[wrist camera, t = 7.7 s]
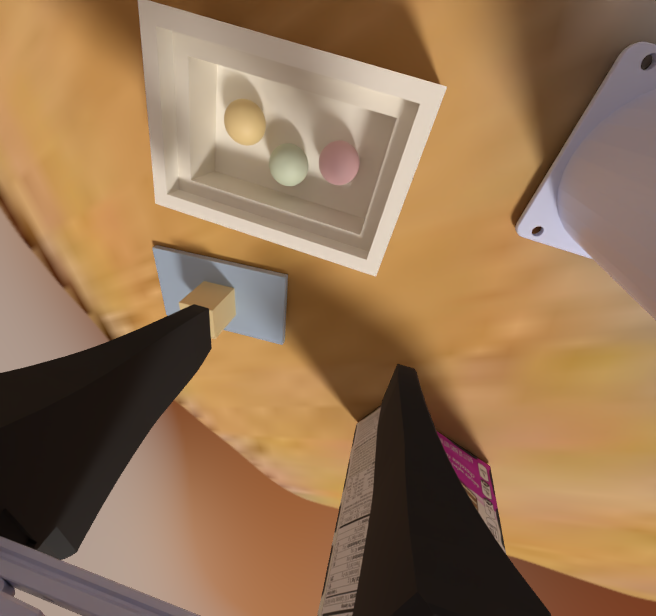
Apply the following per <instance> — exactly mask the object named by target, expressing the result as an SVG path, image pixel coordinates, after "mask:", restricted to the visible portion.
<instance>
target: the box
mask: <svg viewBox="0 0 656 616" xmlns="http://www.w3.org/2000/svg"><path fill="white" fill-rule="evenodd" d="M138 9H139V20H140V32H141V43H142V55H143V66H144V78H145V89H146V101H147V112H148V124H149V135H150V147H151V158H152V170H153V181H154V192H155V204H158V205H161V206H164V207H167V208H171V209H174V210H177V211H180V212H183V213H186V214H189V215H192V216H195V217H198V218H201V219H204V220H207V221H210V222H213V223H216V224H219V225H222V226H225V227H228V228H231V229H234V230H237V231H240V232H243V233H246V234H249V235H252V236H255V237H258V238H261V239H264V240H267V241H270V242H273V243H276V244H279V245H282V246H285V247H288V248H291V249H294V250H297V251H300V252H303V253H306V254H309V255H313V256H316V257H319V258H322V259H325V260H328V261H331V262H334V263H337V264H340V265H343V266H346V267H349V268H352V269H355V270H358V271H361V272H364V273H367V274H370V275H373V276H376V275H377V272H378V270H379V267H380V264H381V262H382V259H383V256H384V254H385V251H386V248H387V246H388V243H389V240H390V238H391V235H392V232H393V230H394V227H395V224H396V222H397V219H398V216H399V214H400V211H401V208H402V206H403V203H404V200H405V198H406V195H407V192H408V190H409V187H410V184H411V182H412V179H413V176H414V174H415V171H416V168H417V166H418V163H419V160H420V158H421V155H422V152H423V150H424V147H425V144H426V142H427V139H428V136H429V134H430V131H431V128H432V126H433V123H434V120H435V118H436V115H437V112H438V110H439V107H440V104H441V102H442V99H443V96H444V94H445V91H446V88H447V87H446V86H443V85H440V84H436V83H433V82H429V81H426V80H422V79H419V78H415V77H412V76H408V75H405V74H401V73H398V72H395V71H391V70H388V69H384V68H381V67H377V66H374V65H370V64H367V63H363V62H360V61H357V60H353V59H350V58H346V57H343V56H339V55H336V54H332V53H329V52H325V51H322V50H319V49H315V48H312V47H308V46H305V45H301V44H298V43H294V42H291V41H287V40H284V39H281V38H277V37H274V36H270V35H267V34H263V33H260V32H256V31H253V30H249V29H246V28H242V27H239V26H236V25H232V24H229V23H225V22H222V21H218V20H215V19H211V18H208V17H204V16H201V15H198V14H194V13H191V12H187V11H184V10H180V9H177V8H173V7H170V6H166V5H163V4H160V3H156V2H153V1H149V0H138Z"/></svg>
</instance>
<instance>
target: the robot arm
mask: <svg viewBox="0 0 656 616" xmlns="http://www.w3.org/2000/svg"><path fill="white" fill-rule="evenodd" d="M649 54H650V55H651V56H652V59H653V61H652V63H651V65H650V66H649V67H648V68H647V69H645V70H643V69H641V62H642V60H643V59H644V58H645V57H646V56H647V55H649ZM537 226H541V230H540V231H539V232H538V233H536V234H533V233H532V230H533V229H534V228H535V227H537ZM515 230H516V232H517V233H518V235H519V236H521V237H524V238H527V239H530V240H533V241H537V242H540V243H543V244H546V245H549V246H552V247H556V248H559V249H562V250H565V251H568V252H572V253H575V254H578V255H581V256H584V257H587V258H591V259H594V260H595V261H596V262H597V263H598V264H599V265H600V266H601V267H602V268H603V269H604V270H605V271H606V272H607V273H608V274H609V275H610V276H611V277H612V278H613V279H614V280H615V281H616V282H617V283H618V284H619V285H620V286H621V287H622V288H623V289H624V290H625V291H626V292H627V293H628V294H629V295H630V296H631V297H632V298H633V299H635V300H636V301H637V302H638V303H639V304H640V305H641V306H642V307H643V308H644V309H645V310H646V311H647V312H648V313H649V314H650V315H651V316H652V317H653V318H654V319H655V320H656V44H652V43H649V42H637V43H634V44H631V45H629V46H628V47H626V48H625V49H624V50H623V51H622V52H621V53H620V55H619V56H618V57H617V59H616V61H615V62H614V64H613V66H612V67H611V69H610V71H609V72H608V74H607V76H606V77H605V79H604V80H603V82H602V84H601V85H600V87H599V89H598V90H597V92H596V94H595V95H594V97H593V99H592V100H591V102H590V103H589V105H588V107H587V108H586V110H585V112H584V113H583V115H582V117H581V118H580V120H579V122H578V123H577V125H576V126H575V128H574V130H573V131H572V133H571V135H570V136H569V138H568V140H567V141H566V143H565V144H564V146H563V148H562V149H561V151H560V153H559V154H558V156H557V158H556V159H555V161H554V163H553V164H552V166H551V167H550V169H549V171H548V172H547V174H546V176H545V177H544V179H543V181H542V182H541V184H540V186H539V187H538V189H537V190H536V192H535V194H534V195H533V197H532V199H531V200H530V202H529V204H528V205H527V207H526V209H525V210H524V212H523V213H522V215H521V217H520V218H519V220H518V222H517V223H516V226H515ZM210 350H211V332H210V315H209V308H206V307H203V306H199V305H196V304H193V305H191V306H188V307H186V308H184V309H182V310H179V311H177V312H175V313H173V314H171V315H169V316H167V317H164V318H162V319H160V320H158V321H156V322H153V323H151V324H149V325H147V326H145V327H142V328H140V329H138V330H136V331H133V332H131V333H128V334H126V335H123V336H121V337H118V338H116V339H114V340H111V341H109V342H106V343H104V344H101V345H98V346H96V347H93V348H90V349H87V350H84V351H81V352H78V353H75V354H71V355H68V356H65V357H61V358H58V359H54V360H51V361H47V362H43V363H40V364H36V365H33V366H29V367H25V368H21V369H16V370H12V371H8V372H3V373H0V616H45V615H44V614H43V613H42V612H41V611H40V610H39V609H37V608H35V607H33V606H31V605H29V604H27V603H25V602H23V601H21V600H19V599H17V598H15V597H14V595H15V590H14V588H17V589H19V590H22V591H24V592H26V593H29V594H32V595H34V596H36V597H39V598H41V599H43V600H46V601H48V602H51V603H53V604H56V605H58V606H60V607H63V608H65V609H68V610H70V611H72V612H75V613H77V614H80V615H82V616H200V615H198V614H195V613H192V612H190V611H188V610H185V609H183V608H180V607H177V606H175V605H172V604H170V603H167V602H165V601H162V600H160V599H157V598H155V597H152V596H150V595H147V594H145V593H142V592H140V591H137V590H135V589H132V588H130V587H127V586H125V585H122V584H119V583H117V582H115V581H112V580H109V579H107V578H104V577H102V576H99V575H97V574H94V573H92V572H89V571H87V570H84V569H82V568H79V567H77V566H74V565H71V564H69V563H67V562H64V561H62V559H65V558H67V557H69V556H71V555H73V554H75V553H76V552H77V551H78V548H79V547H80V545H81V543H82V541H83V539H84V538H85V536H86V534H87V532H88V530H89V529H90V527H91V525H92V523H93V521H94V520H95V518H96V516H97V514H98V512H99V511H100V509H101V507H102V505H103V504H104V502H105V500H106V499H107V497H108V495H109V494H110V492H111V490H112V489H113V487H114V485H115V484H116V482H117V480H118V478H119V477H120V475H121V474H122V472H123V471H124V469H125V467H126V466H127V464H128V462H129V461H130V459H131V458H132V456H133V455H134V453H135V452H136V450H137V448H138V447H139V446H140V444H141V443H142V441H143V440H144V438H145V437H146V435H147V434H148V432H149V431H150V429H151V428H152V426H153V425H154V424H155V423H156V421H157V420H158V419H159V417H160V416H161V415H162V414H163V412H164V411H165V410H166V409H167V407H168V406H169V405H170V404H171V403H172V402H173V400H174V399H175V398H176V397H177V396H178V394H179V393H180V392H181V391H182V389H183V388H184V387H185V386H186V385H187V383H188V382H189V381H190V380H191V378H192V377H193V376H194V375H195V373H196V372H197V371H198V369H199V368H200V366H201V365H202V363H203V362H204V360H205V358H206V357H207V355H208V353H209V352H210ZM26 546H27V547H26ZM31 548H32V549H31ZM36 550H37V551H36ZM41 552H42V553H41ZM352 616H551V614H550V612H549V611H548V610H547V608H546V607H545V606H544V604H543V603H542V602H541V601H540V599H539V598H538V596H537V595H536V594H535V593H534V591H533V590H532V589H531V587H530V586H529V585H528V584H527V582H526V581H525V579H524V578H523V577H522V575H521V574H520V573H519V572H518V570H517V569H516V568H515V566H514V565H513V563H512V562H511V561H510V559H509V558H508V556H507V555H506V553H505V552H504V551H503V549H502V548H501V546H500V545H499V543H498V542H497V541H496V539H495V537H494V536H493V534H492V533H491V531H490V530H489V528H488V526H487V525H486V523H485V522H484V520H483V519H482V517H481V515H480V514H479V512H478V511H477V509H476V507H475V506H474V504H473V503H472V501H471V499H470V497H469V496H468V494H467V492H466V490H465V489H464V487H463V485H462V483H461V481H460V480H459V478H458V476H457V474H456V472H455V470H454V468H453V466H452V464H451V462H450V460H449V458H448V456H447V454H446V452H445V450H444V447H443V445H442V443H441V441H440V438H439V436H438V434H437V431H436V429H435V426H434V424H433V421H432V418H431V416H430V413H429V411H428V408H427V405H426V402H425V399H424V396H423V393H422V390H421V386H420V383H419V380H418V376H417V372H416V370H415V369H413V368H410V367H407V366H403V365H400V364H397V366H396V369H395V371H394V374H393V376H392V378H391V381H390V383H389V386H388V388H387V390H386V393H385V395H384V398H383V400H382V404H381V410H380V415H379V421H378V426H377V439H376V454H375V469H374V484H373V495H372V504H371V510H370V517H369V523H368V529H367V535H366V541H365V547H364V553H363V559H362V565H361V570H360V576H359V582H358V587H357V593H356V598H355V604H354V609H353V614H352Z"/></svg>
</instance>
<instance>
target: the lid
mask: <svg viewBox="0 0 656 616" xmlns="http://www.w3.org/2000/svg"><path fill="white" fill-rule="evenodd" d="M152 248H153V253H154V258H155V262H156V267H157V272H158V277H159V281H160V286H161V291H162V295H163V300H164V305H165V310H166V314H167V315H168V316H169V315H171V314H173V313H175V312H177V311H179V310H182V309H184V308H186V307H188V306H191V305H193V304H196V305H199V306H203V307H206V308H209V315H210V332H211V338H213V339H216V338H217V337H218V336H219V334H220V333H221V332H222V331H223V330H227V331H231V332H234V333H238V334H242V335H246V336H250V337H254V338H258V339H262V340H265V341H269V342H273V343H277V344H281V345H283V343H284V341H285V325H286V305H287V285H288V275H287V274H283V273H278V272H274V271H270V270H265V269H261V268H256V267H252V266H247V265H243V264H238V263H234V262H230V261H225V260H221V259H216V258H212V257H207V256H203V255H199V254H194V253H190V252H185V251H181V250H176V249H172V248H168V247H163V246H159V245H156V246H154V247H152Z"/></svg>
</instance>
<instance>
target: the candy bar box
mask: <svg viewBox="0 0 656 616" xmlns="http://www.w3.org/2000/svg"><path fill="white" fill-rule="evenodd" d="M380 410H381V406H379V407H378V408H377V409H376V410H375V411H374V412H372V413H371V414H369V415H368V416H366V417H365V418H363V419H362V420H361V421H359V422H358V423H357V425H356V429H355V433H354V439H353V444H352V449H351V454H350V459H349V464H348V469H347V474H346V479H345V484H344V489H343V494H342V499H341V504H340V507H339V514H338V519H337V523H336V528H335V533H334V538H333V543H332V548H331V553H330V558H329V563H328V567H327V572H326V578H325V582H324V588H323V592H322V597H321V602H320V606H319V611H318V616H352V614H353V609H354V604H355V598H356V593H357V587H358V582H359V576H360V570H361V565H362V559H363V553H364V547H365V541H366V535H367V529H368V523H369V517H370V510H371V504H372V495H373V484H374V469H375V454H376V439H377V426H378V421H379V415H380ZM437 434H438V436H439V438H440V441H441V443H442V445H443V447H444V450H445V452H446V454H447V456H448V458H449V460H450V462H451V464H452V466H453V468H454V470H455V472H456V474H457V476H458V478H459V480H460V481H461V483H462V485H463V487H464V489H465V490H466V492H467V494H468V496H469V497H470V499H471V501H472V503H473V504H474V506H475V507H476V509H477V511H478V512H479V514H480V515H481V517H482V519H483V520H484V522H485V523H486V525H487V526H488V528H489V530H490V531H491V533H492V534H493V536H494V537H495V539H496V541H497V542H498V543H499V545H500V546H501V548H502V549H503V551H504V552H505V553H506V551H505V546H504V541H503V535H502V530H501V524H500V518H499V513H498V508H497V502H496V497H495V491H494V485H493V479H492V474H491V468H490V466H489V465H488V464H486V463H485V462H483V461H482V460H480V459H479V458H477V457H475V456H474V455H472V454H471V453H469V452H468V451H466V450H465V449H463V448H462V447H460V446H459V445H457V444H455V443H454V442H452V441H451V440H449V439H448V438H446V437H445V436H443V435H442V434H440V433H439V432H437Z"/></svg>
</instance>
